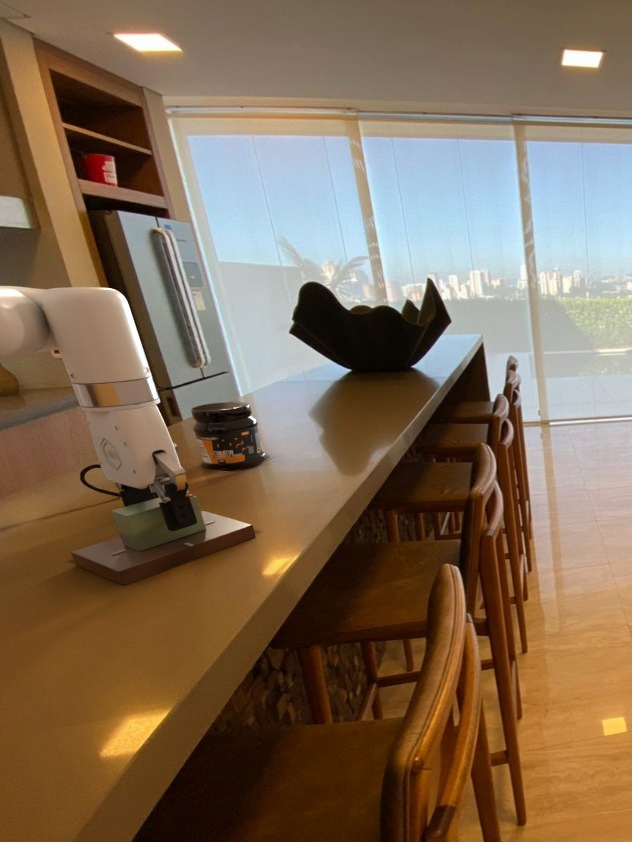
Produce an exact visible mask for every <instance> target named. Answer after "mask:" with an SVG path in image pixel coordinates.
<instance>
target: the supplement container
mask: <svg viewBox="0 0 632 842" xmlns="http://www.w3.org/2000/svg"><path fill="white" fill-rule="evenodd" d="M251 407H252V406H251V404H250V403H249V402H245V401H223V402H222V401H221V402H212V403H206V404H201V405H196V406H194V407H192V408H191V409H190V413H191V415H192V419H193V420H195V422H194V424H193V425H192V431H193V432H194V434H195V437H196V441H197V444H198V447H199V452H200V454H201V458H202V463H203V465H204V467H205V468H207V469H210V470H211V469H212V470H221V472H234V471H241V470H245V469H249V468H253V467H256V466H258V465H261V464H262V463H263V462H264V461H265V460H266V457H267V456H266V452H265V449H264V445H263V442H262V438H261V433H260V430H259V426H258V425H259V424H258V420H257V419H256V417H254V416H253V415H252V413H253V412H252V408H251Z"/></svg>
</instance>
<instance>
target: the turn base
mask: <svg viewBox="0 0 632 842" xmlns="http://www.w3.org/2000/svg"><path fill="white" fill-rule="evenodd" d="M201 514H202V517H203V520H204V524H205V527H206V530H203V531H200V532H197V533H194V534H191V535H188V536H185V537H182V538H179V539H176V540H173V541H170V542H166V543H163V544H160V545H157V546H154V547H151V548H148V549H145V550H142V551H138V550H135V549H132V548H129V547H127V546H124V545H123V542H122V539H121V537H120V536H118V537H115V538H112V539H108V540H104V541H101V542H98V543H95V544H93V545H89V546H85V547H82V548H80V549H76V550H73V551H72V550H71V551H70V555H71V556H72V559H73V561H74V564H75V566H77V567H79V568H81V569H84V570H86V571H88V572H91V573H93V574H96V575H98V576H100V577H102V578H105V579H107V580H110V581H111V582H114V583H117V584H119V585H121V586H127V585H130V584H132V583H136V582H138V581H141V580H144V579H146V578H150V577H151V576H152V577H153V576H155V575H157V574H160V573H163V572H166V571H169V570H171V569H173V568H176V567H179V566H182V565H185V564H188V563H190V562H192V561H196V560H198V559H201V558H204V557H207V556H209V555H211V554H215V553H218V552H220V551H223V550H225V549H228V548H230V547H234V546H237V545H239V544H241V543H244V542H247V541H250V540H253V539H255V538H257V536H256V532H255V528H254V525H253V524H250V523H247V522H244V521H240V520H238V519H234V518H230V517H227V516H224V515H221V514H217V513H213V512H210V511H206V510H203V511H201Z"/></svg>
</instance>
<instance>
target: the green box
mask: <svg viewBox="0 0 632 842" xmlns="http://www.w3.org/2000/svg"><path fill="white" fill-rule="evenodd" d="M189 498H190V501H191V504H192V507H193V510H194V513H195V516H196V519H197V523H196V524H195V525H192V526H189V527H186V528H183V529H180V530H176V531H170V530H168V528H167V525H166V522H165V519H164V516H163V514H162V511H161V508H160V505H159V503H160V502H163V501H162V500H161V499H160V497H159V498H156V499H152V500H148V501H145V502H141V503H137V504H134V505H130V506H126V507H125V506H122V507H119V508H116V509H112V510H110V512H111V515H112V518H113V521H114V524H115V526H116V528H117V531H118V534H119V537H121V539H122V542H123V545H124V546H127V547H129V548H132V549H135V550H138V551H142V550H145V549H148V548H151V547H154V546H157V545H160V544H163V543H166V542H170V541H173V540H176V539H179V538H182V537H185V536H188V535H191V534H194V533H197V532H200V531H203V530H206V527H205V524H204V520H203V517H202V514H201V512H202V511H201V508H200V504H199V501H198V498H197V496H196V495H194V494H192V493H190V496H189Z"/></svg>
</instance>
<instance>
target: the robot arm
mask: <svg viewBox="0 0 632 842" xmlns="http://www.w3.org/2000/svg"><path fill="white" fill-rule="evenodd" d="M143 347H144V346H143V344H142V341H141V339H140V335H139V332H138V329H137V326H136V323H135V320H134V316H133V314H132V311H131V308H130V305H129V302H128V300H127V298H126V297H125V295H123V293H121V292H120V291H119V290H117V289H114V288H111V287H100V286H99V287H95V286H93V287H92V286H88V287H87V286H85V287H84V286H82V287H81V286H80V287H77V286H75V287H74V286H73V287H71V286H70V287H52V288H48V289H45V288H35V287H26V286H16V285H0V361H1V360H5V359H10V358H16V357H23V356H28V355H34V354H39V353H44V352H51V351H56V350H57V351H58V353H59V355H60V357H61V359H62V362H63V365H64V367H65V370H66V373H67V375H68V377H69V380H70V383H71V386H72V388H73V391H74V393H75V396H76V399H77V401H78V404H79V407H80V409H81V411H82V412H85V417H86V421H87V425H88V426H87V427H88V429H89V433H90V437H91V440H92V443H93V446H94V449H95V450H94V451H95V453H96V456H97V459H98V461H99V464H100V465H101V468H100V469H101V471H102V473H103V476H104V478H105V479H107V480H109V481H111V482H113V483H114V484H115V488H116V489H117V490H118V493H120V496H121V497H120V499H121V500H122V503H123V507H126V506H130V505H134V504H137V503H141V502H145V501H148V500H152V499H154V498H153V495H152V493H151V490H150V487H149V485H151V487H152V488H153V489H154V491H155V492H156V493H157V495H158V496H159V497H160V499H161V500H162V501H163V502H160V503H159V505H160V508H161V511H162V514H163V516H164V519H165V522H166V525H167V528H168V530H170V531H176V530H180V529H183V528H186V527H189V526H192V525H195V524H196V523H197V519H196V516H195V513H194V510H193V507H192V504H191V501H190V498H189V496H190V494H191V492H190V491H189V485H190V484H188V482H187V471H186V469H185V468H183V467H182V466H181V462H179V461H180V458H179V459H178V456H177V453H176V450H175V447H174V444H173V443H174V442H173V440H172V437H171V435H170V432H169V430H168V427H167V425H166V422H165V421H164V418H163V416H162V414H161V412H160V409H159V407H158V404H160V403H161V399H160V396H159V393H158V390H157V386H156V384H155V381H154V377H153V375H152V372H151V369H150V366H149V362H148V359H147V357H146V353H145V350H144V348H143ZM160 477H162V478H160ZM156 478H158V479H156ZM167 484H168V486H167V490H166V491H165V490H164V488H163V487H162V486H163V485H167Z"/></svg>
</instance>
